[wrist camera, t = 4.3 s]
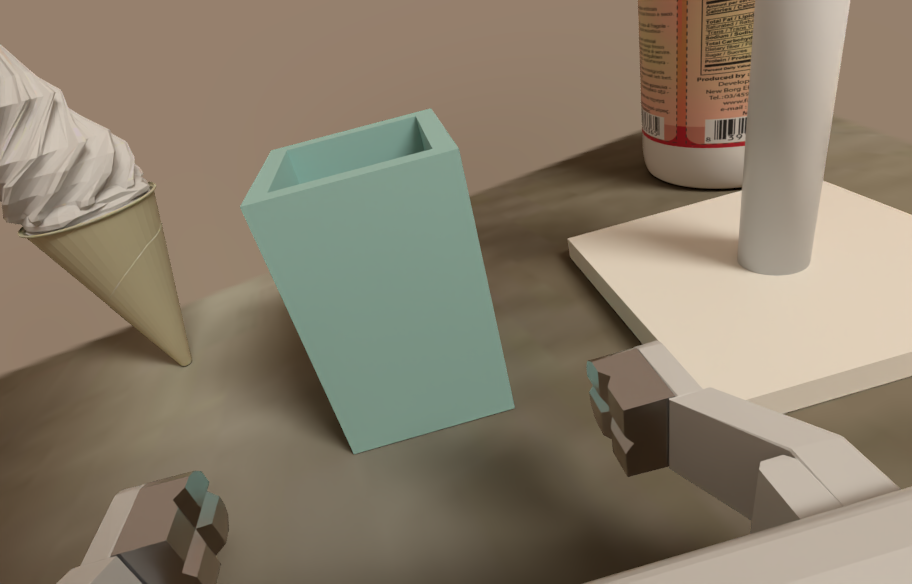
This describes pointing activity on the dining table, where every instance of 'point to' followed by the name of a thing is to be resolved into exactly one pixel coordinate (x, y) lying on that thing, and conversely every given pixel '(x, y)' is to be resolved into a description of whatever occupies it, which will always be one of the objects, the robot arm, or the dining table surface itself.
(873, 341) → the post stand
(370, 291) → the sleeve
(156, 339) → the ice cream cone
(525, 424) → the dining table surface
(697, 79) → the fruit juice
